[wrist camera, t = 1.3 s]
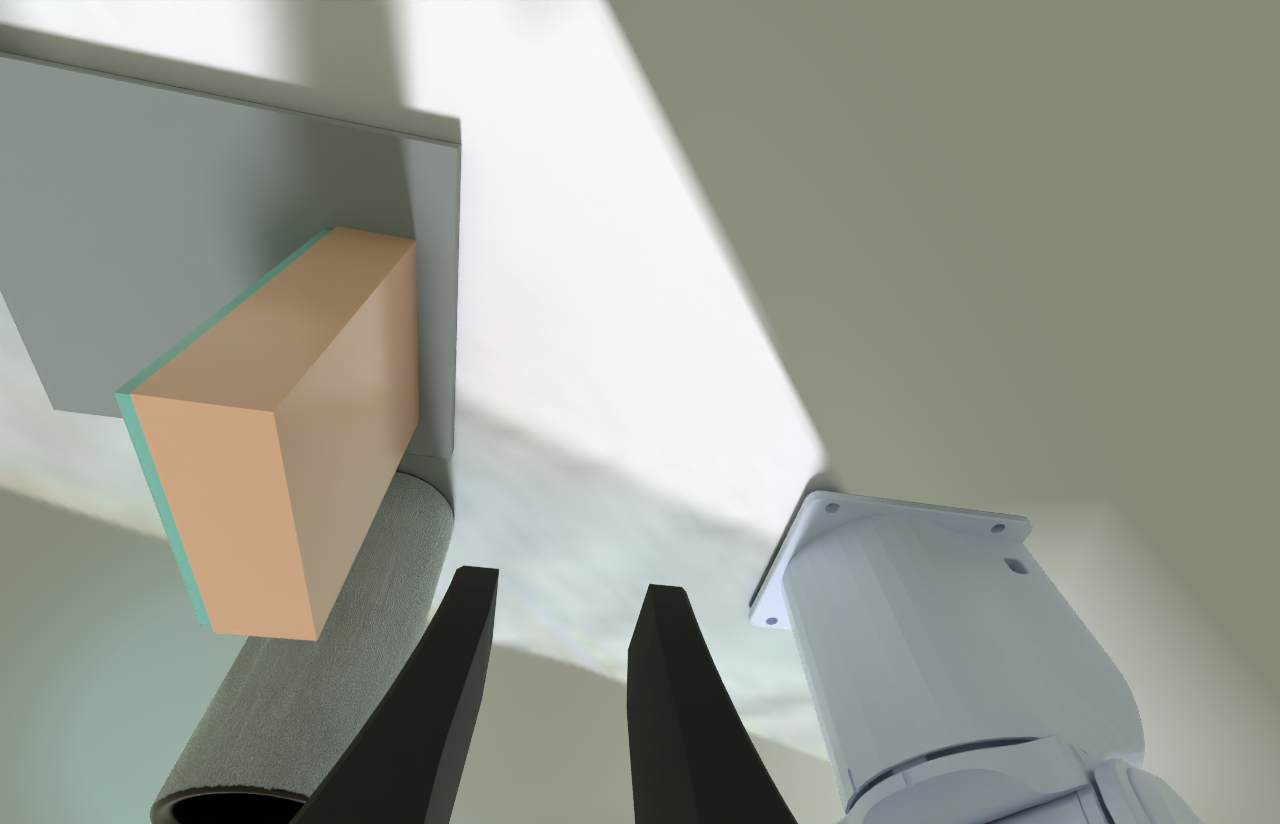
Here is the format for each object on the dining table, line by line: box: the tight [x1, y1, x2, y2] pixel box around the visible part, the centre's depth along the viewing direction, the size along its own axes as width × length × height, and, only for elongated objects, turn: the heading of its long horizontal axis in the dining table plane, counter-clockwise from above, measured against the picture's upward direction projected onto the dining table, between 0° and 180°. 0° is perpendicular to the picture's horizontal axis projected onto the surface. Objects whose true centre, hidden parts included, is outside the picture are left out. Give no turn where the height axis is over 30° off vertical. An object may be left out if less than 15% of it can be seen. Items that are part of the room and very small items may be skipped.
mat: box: [0, 51, 461, 459], centre depth 16 cm, size 12×10×1 cm
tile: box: [114, 226, 419, 641], centre depth 14 cm, size 2×6×8 cm, turn 169°
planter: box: [150, 472, 454, 824], centre depth 18 cm, size 4×4×10 cm
